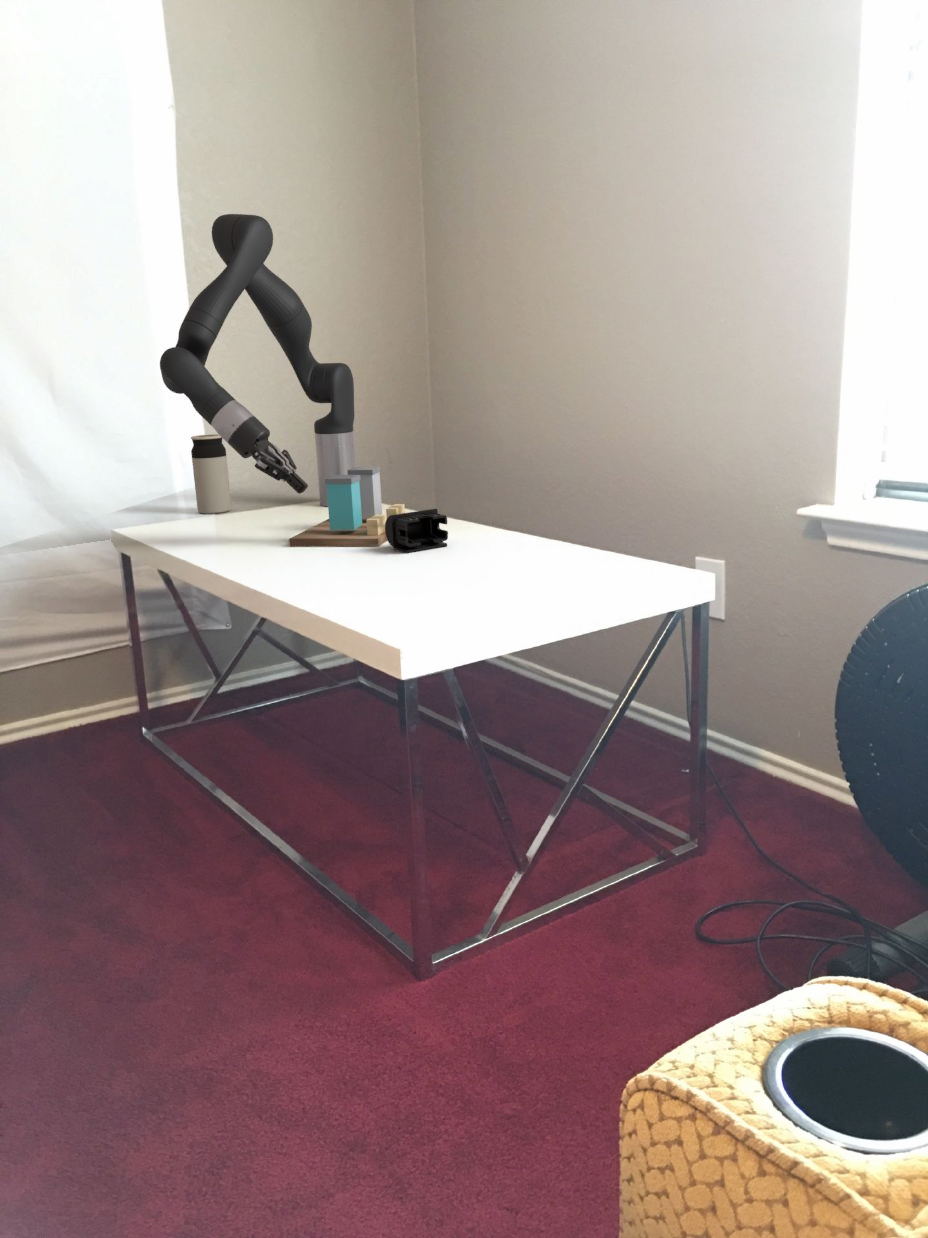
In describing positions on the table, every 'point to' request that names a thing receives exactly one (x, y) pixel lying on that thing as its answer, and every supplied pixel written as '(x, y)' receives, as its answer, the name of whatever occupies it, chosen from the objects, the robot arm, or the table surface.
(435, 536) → the end cap
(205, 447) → the travel mug
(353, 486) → the teal key
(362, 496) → the grey key
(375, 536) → the key base
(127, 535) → the table surface
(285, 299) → the robot arm
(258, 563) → the table surface
